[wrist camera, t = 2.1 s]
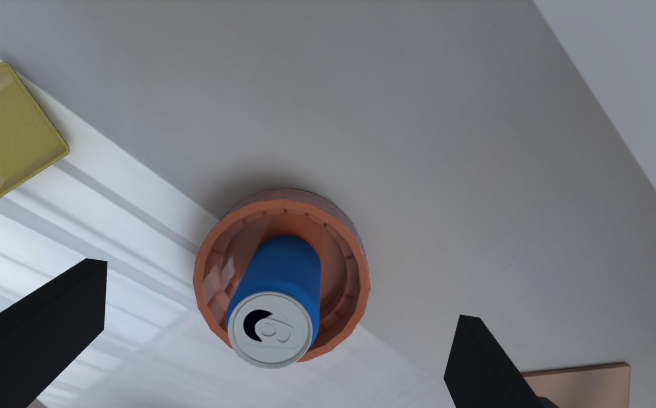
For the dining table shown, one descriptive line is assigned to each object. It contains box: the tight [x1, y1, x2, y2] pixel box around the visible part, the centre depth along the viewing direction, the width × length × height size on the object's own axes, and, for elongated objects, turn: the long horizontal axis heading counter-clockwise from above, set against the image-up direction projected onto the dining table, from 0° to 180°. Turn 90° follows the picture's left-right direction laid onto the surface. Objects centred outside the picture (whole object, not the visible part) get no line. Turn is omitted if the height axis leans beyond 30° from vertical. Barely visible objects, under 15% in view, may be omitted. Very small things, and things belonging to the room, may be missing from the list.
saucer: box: [0, 62, 70, 198], centre depth 36 cm, size 9×9×2 cm
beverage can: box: [226, 235, 321, 369], centre depth 34 cm, size 6×6×12 cm
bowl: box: [193, 188, 370, 362], centre depth 38 cm, size 15×15×5 cm
